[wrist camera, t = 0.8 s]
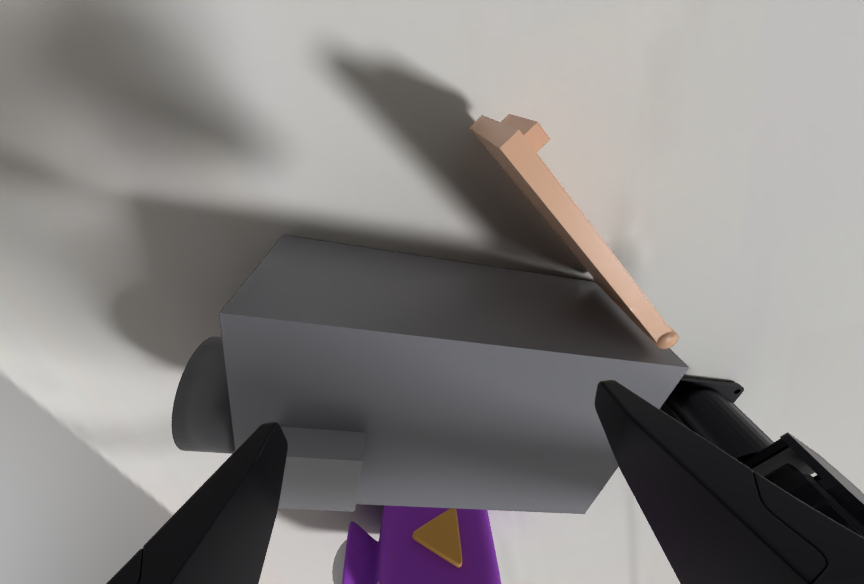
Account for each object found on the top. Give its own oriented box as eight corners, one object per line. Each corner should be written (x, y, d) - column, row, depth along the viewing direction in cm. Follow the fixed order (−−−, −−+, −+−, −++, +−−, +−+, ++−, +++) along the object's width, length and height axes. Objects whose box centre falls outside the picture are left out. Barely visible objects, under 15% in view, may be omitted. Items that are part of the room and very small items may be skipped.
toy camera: (333, 484, 32) (306, 631, 23) (483, 469, 32) (512, 609, 24) (353, 544, 38) (337, 682, 29) (481, 532, 38) (504, 663, 29)
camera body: (604, 283, 23) (713, 392, 15) (541, 411, 29) (595, 540, 21) (226, 226, 20) (98, 327, 11) (241, 384, 25) (162, 527, 17)
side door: (622, 268, 22) (696, 331, 16) (598, 286, 22) (662, 352, 17) (494, 102, 17) (539, 110, 11) (467, 129, 17) (497, 150, 12)
